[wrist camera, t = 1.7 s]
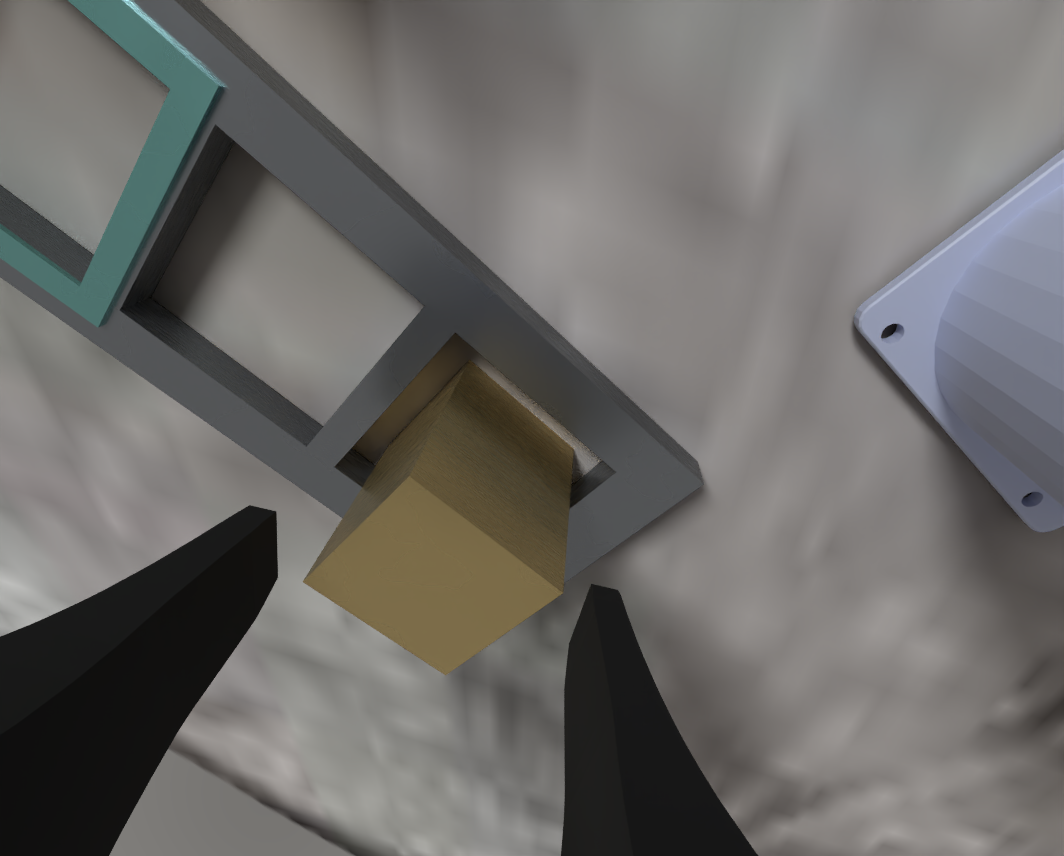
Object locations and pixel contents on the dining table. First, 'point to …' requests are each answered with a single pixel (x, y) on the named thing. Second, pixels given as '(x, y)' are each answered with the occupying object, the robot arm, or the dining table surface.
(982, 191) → the dining table surface
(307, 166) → the grey grid frame
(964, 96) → the dining table surface
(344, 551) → the mustard tan rectangular block
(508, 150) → the dining table surface
